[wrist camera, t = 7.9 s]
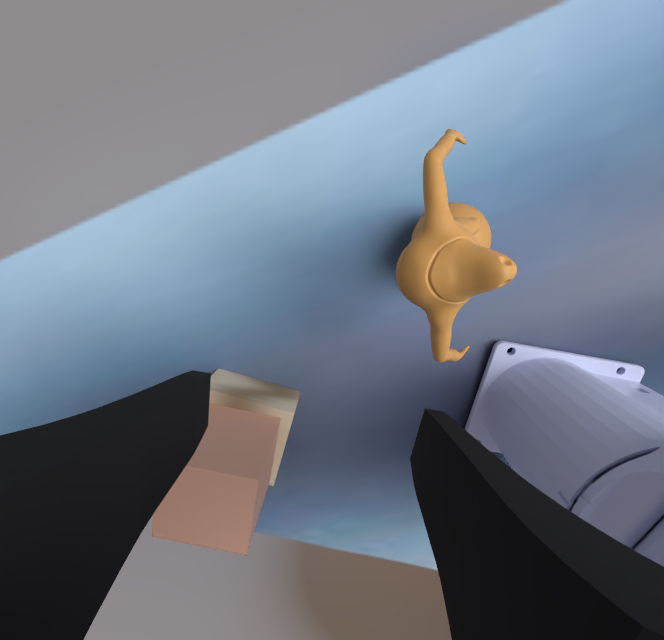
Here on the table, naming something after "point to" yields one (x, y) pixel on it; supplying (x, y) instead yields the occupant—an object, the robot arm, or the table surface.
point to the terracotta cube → (221, 483)
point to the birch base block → (257, 403)
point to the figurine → (448, 255)
